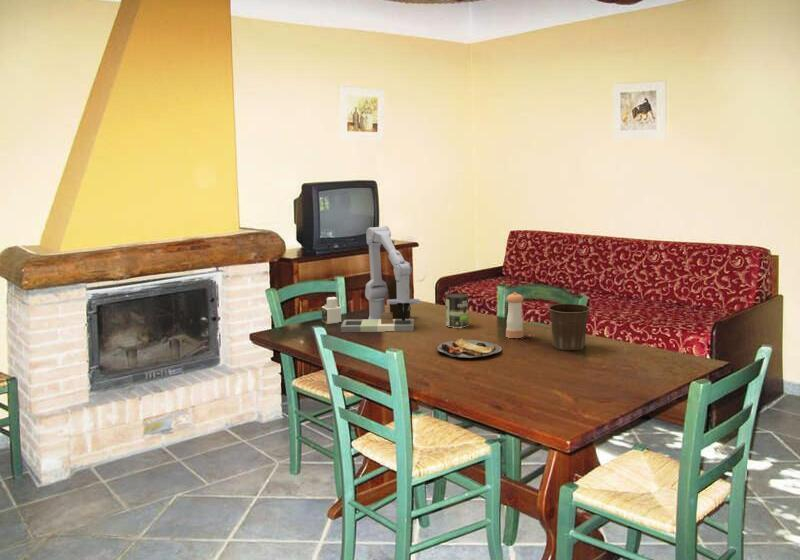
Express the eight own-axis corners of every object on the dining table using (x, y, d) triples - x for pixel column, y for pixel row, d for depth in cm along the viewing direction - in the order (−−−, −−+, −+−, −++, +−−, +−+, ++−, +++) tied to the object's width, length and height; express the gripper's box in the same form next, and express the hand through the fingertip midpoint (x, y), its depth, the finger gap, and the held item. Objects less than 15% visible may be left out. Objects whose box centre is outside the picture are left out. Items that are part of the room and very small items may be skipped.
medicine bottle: (322, 321, 354) (321, 296, 352) (336, 319, 357) (335, 294, 355) (327, 324, 348) (326, 298, 346) (341, 322, 351) (340, 297, 349)
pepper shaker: (525, 336, 318) (526, 291, 315) (519, 339, 312) (519, 294, 309) (509, 334, 322) (510, 290, 319) (503, 338, 316) (503, 293, 313)
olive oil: (384, 318, 358) (383, 266, 354) (402, 315, 364) (401, 264, 360) (397, 322, 350) (396, 268, 345) (415, 318, 356) (415, 266, 351)
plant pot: (583, 354, 288) (583, 313, 285) (542, 350, 296) (542, 309, 293) (594, 344, 302) (595, 305, 299) (554, 340, 310) (555, 302, 307)
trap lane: (344, 325, 346) (344, 319, 345) (413, 324, 345) (413, 318, 344) (341, 332, 332) (341, 326, 331) (413, 331, 331) (413, 325, 331)
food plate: (424, 352, 296) (424, 343, 295) (463, 341, 312) (463, 333, 311) (473, 365, 278) (473, 356, 278) (512, 353, 294) (512, 345, 294)
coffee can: (473, 326, 339) (473, 295, 336) (456, 329, 332) (456, 298, 330) (457, 322, 346) (457, 292, 344) (440, 326, 340) (440, 295, 338)
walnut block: (381, 321, 340) (381, 312, 340) (392, 321, 340) (392, 312, 339) (381, 323, 335) (381, 315, 335) (392, 323, 335) (392, 314, 335)
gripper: (386, 291, 331) (387, 322, 334) (419, 291, 331) (419, 321, 333) (386, 289, 338) (387, 318, 341) (419, 288, 338) (419, 318, 340)
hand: (403, 319), depth 337 cm, fingers closed
